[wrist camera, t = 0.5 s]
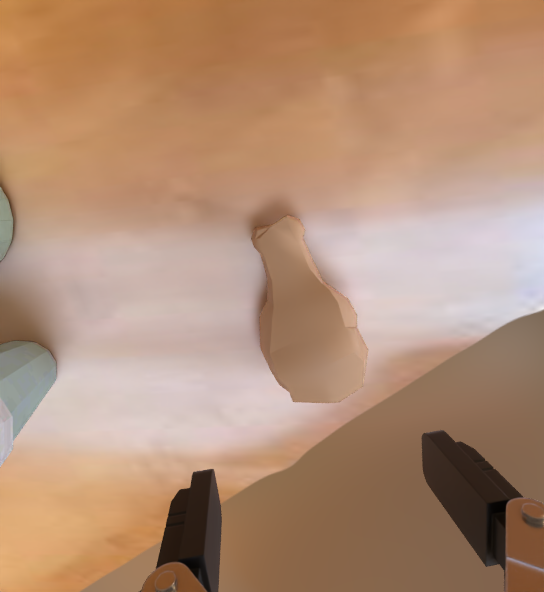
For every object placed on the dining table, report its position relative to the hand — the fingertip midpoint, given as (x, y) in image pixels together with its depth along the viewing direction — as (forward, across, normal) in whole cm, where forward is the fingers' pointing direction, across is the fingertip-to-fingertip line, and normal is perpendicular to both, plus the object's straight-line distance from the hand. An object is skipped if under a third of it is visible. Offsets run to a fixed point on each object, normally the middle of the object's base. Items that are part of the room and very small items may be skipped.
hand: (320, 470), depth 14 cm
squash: (+29, -3, +1) cm, 29 cm away
